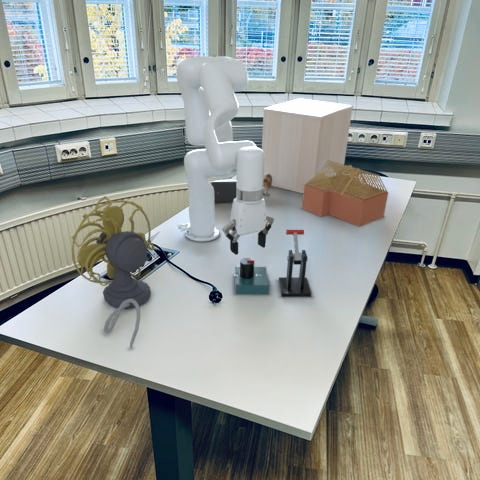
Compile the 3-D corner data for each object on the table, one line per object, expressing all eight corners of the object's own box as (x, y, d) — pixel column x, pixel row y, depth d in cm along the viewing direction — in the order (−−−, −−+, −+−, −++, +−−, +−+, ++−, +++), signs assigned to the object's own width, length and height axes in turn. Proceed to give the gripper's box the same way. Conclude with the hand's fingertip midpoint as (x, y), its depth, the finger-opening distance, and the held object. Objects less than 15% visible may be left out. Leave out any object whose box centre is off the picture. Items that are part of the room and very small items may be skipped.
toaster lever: (285, 233, 145) (286, 228, 143) (303, 233, 145) (304, 228, 143) (288, 264, 140) (289, 260, 138) (306, 264, 140) (307, 260, 138)
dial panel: (233, 294, 142) (233, 284, 140) (232, 275, 152) (232, 266, 150) (268, 294, 142) (268, 284, 140) (265, 275, 152) (266, 266, 150)
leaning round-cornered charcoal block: (245, 199, 210) (245, 178, 205) (246, 203, 206) (246, 182, 201) (209, 200, 209) (209, 179, 203) (209, 203, 205) (209, 182, 200)
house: (301, 208, 202) (305, 163, 191) (336, 197, 215) (342, 154, 204) (351, 228, 185) (359, 181, 174) (386, 215, 197) (396, 170, 186)
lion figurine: (265, 190, 221) (266, 171, 215) (274, 193, 218) (275, 174, 213) (244, 198, 212) (245, 178, 207) (253, 201, 209) (254, 181, 204)
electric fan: (149, 274, 151) (139, 184, 134) (207, 317, 131) (205, 217, 114) (72, 301, 137) (50, 203, 120) (125, 354, 117) (108, 245, 100)
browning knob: (240, 278, 143) (240, 263, 140) (239, 271, 147) (239, 257, 144) (254, 278, 143) (254, 263, 140) (253, 272, 147) (254, 257, 144)
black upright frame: (278, 280, 149) (281, 245, 142) (306, 280, 150) (310, 246, 143) (281, 296, 141) (284, 260, 134) (310, 296, 141) (315, 260, 134)
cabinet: (293, 166, 253) (299, 98, 234) (342, 177, 240) (353, 105, 221) (259, 183, 229) (263, 108, 210) (312, 195, 216) (321, 116, 197)
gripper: (267, 185, 137) (264, 239, 146) (216, 195, 129) (217, 251, 139) (282, 192, 131) (278, 248, 141) (230, 203, 124) (229, 260, 133)
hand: (248, 249), depth 140 cm, fingers open, 9 cm apart
